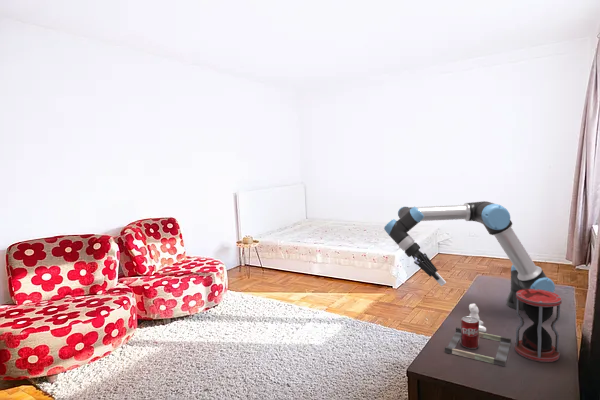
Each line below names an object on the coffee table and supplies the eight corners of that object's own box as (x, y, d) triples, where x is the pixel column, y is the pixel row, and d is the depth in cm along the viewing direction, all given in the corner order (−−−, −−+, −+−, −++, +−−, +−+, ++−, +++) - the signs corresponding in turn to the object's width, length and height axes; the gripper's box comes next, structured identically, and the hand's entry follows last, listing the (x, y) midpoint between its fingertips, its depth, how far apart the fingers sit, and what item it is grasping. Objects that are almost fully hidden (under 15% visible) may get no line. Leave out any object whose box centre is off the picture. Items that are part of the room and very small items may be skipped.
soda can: (480, 350, 168) (481, 323, 167) (462, 349, 170) (462, 322, 168) (476, 341, 175) (476, 316, 174) (459, 341, 177) (459, 315, 175)
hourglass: (555, 346, 168) (557, 290, 165) (563, 365, 154) (565, 304, 151) (513, 340, 175) (514, 286, 172) (516, 358, 160) (517, 300, 157)
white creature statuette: (487, 333, 183) (487, 308, 182) (467, 331, 185) (467, 307, 184) (482, 324, 192) (482, 300, 191) (463, 323, 194) (464, 300, 193)
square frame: (456, 331, 186) (456, 327, 186) (510, 342, 173) (511, 338, 173) (444, 352, 168) (444, 347, 168) (504, 366, 155) (504, 361, 155)
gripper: (408, 248, 201) (441, 284, 194) (399, 254, 191) (434, 293, 183) (418, 239, 198) (453, 275, 191) (410, 244, 187) (446, 284, 180)
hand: (443, 284), depth 187 cm, fingers closed
